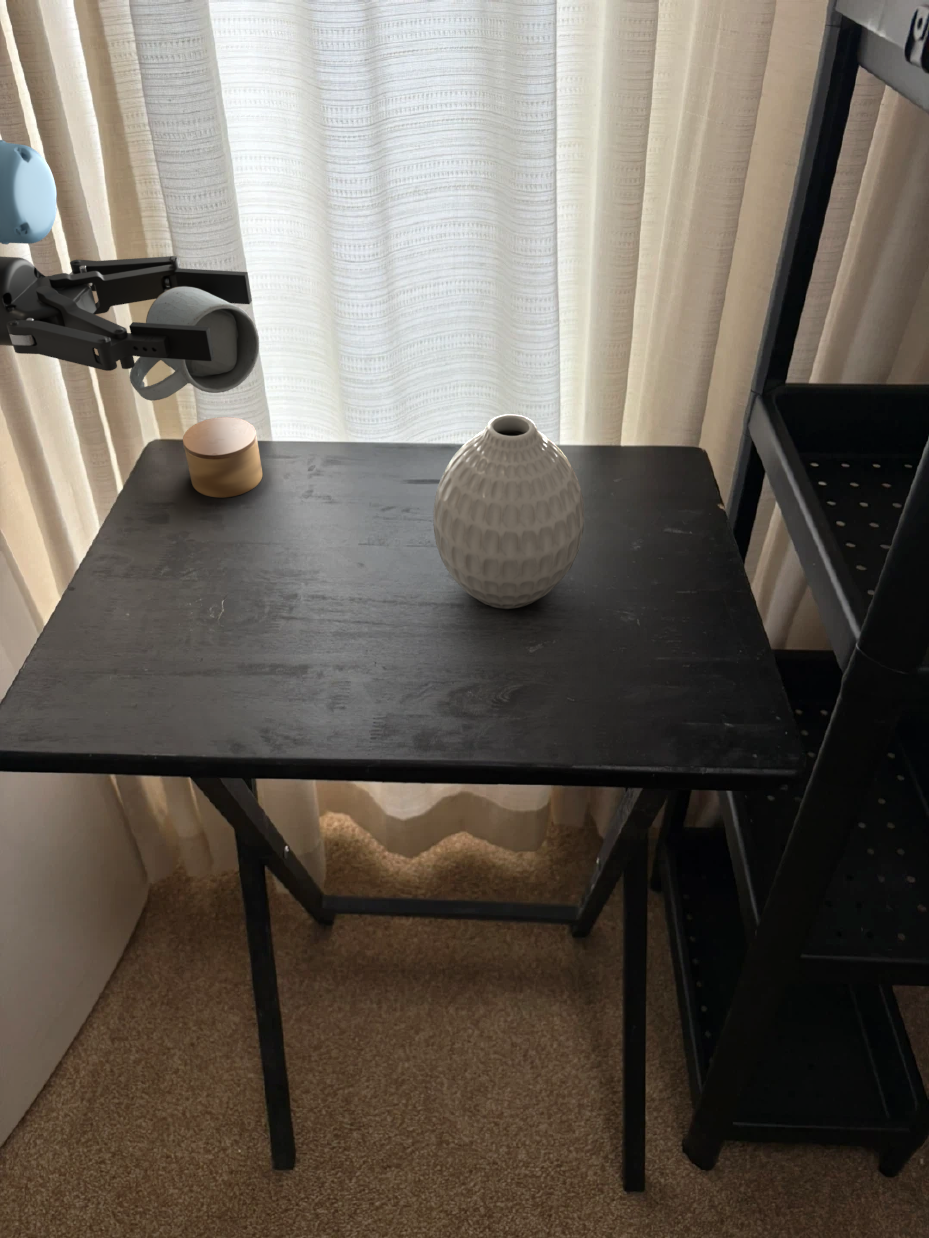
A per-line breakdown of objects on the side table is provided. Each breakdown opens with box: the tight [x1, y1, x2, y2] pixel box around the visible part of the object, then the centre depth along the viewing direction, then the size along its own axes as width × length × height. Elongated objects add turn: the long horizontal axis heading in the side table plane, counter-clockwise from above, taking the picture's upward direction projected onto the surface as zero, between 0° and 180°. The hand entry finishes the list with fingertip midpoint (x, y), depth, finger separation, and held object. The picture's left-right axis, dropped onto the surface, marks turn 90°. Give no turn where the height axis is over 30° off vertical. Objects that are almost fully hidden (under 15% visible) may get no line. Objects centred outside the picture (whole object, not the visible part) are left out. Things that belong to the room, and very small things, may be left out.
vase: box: [432, 413, 585, 610], centre depth 87 cm, size 13×13×17 cm
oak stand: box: [182, 416, 263, 498], centre depth 105 cm, size 7×7×5 cm
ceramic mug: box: [129, 287, 260, 402], centre depth 90 cm, size 11×8×8 cm
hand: (230, 315), depth 89 cm, fingers closed on ceramic mug, 10 cm apart
